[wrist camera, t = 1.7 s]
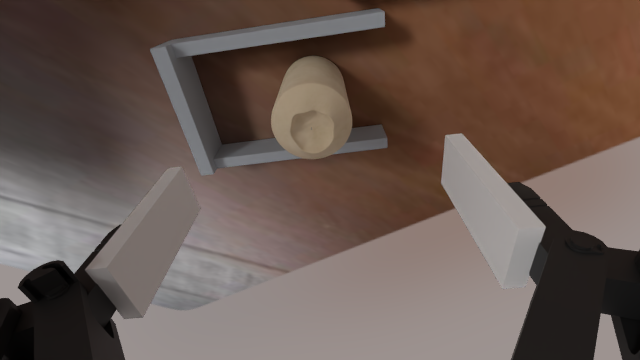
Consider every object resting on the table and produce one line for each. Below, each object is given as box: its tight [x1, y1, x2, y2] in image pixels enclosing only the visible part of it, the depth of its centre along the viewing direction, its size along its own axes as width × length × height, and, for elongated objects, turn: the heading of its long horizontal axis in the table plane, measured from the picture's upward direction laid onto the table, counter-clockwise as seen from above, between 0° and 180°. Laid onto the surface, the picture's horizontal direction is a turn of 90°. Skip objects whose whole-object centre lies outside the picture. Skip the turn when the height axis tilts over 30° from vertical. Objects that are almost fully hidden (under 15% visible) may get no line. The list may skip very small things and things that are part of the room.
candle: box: [271, 56, 352, 159], centre depth 24 cm, size 6×6×10 cm
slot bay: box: [150, 8, 387, 175], centre depth 27 cm, size 17×11×4 cm, turn 98°
